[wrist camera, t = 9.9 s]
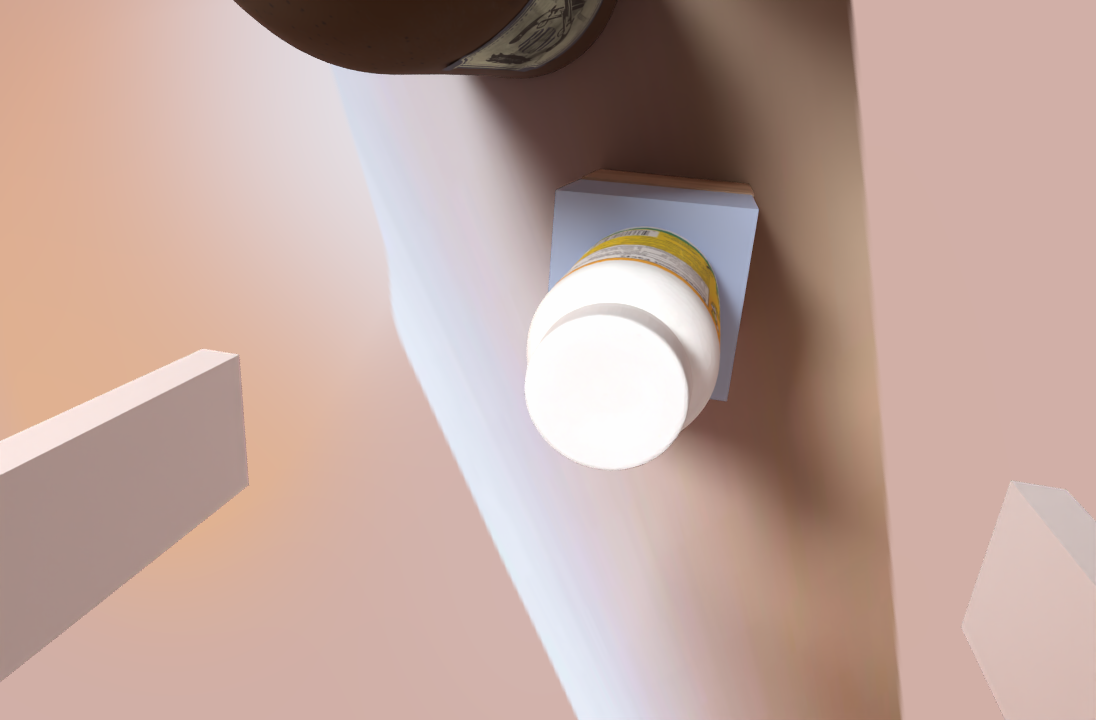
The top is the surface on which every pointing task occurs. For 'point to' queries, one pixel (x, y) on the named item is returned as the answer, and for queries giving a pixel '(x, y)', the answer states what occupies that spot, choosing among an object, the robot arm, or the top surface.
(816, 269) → the top surface
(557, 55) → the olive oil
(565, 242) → the slate block
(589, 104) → the top surface
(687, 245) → the supplement bottle
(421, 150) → the top surface
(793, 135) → the top surface
